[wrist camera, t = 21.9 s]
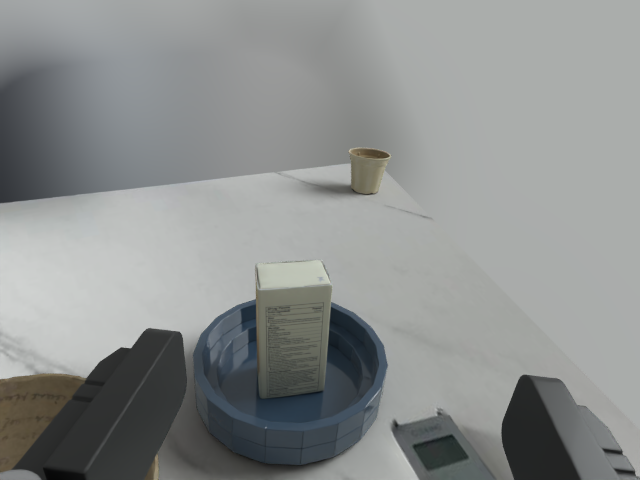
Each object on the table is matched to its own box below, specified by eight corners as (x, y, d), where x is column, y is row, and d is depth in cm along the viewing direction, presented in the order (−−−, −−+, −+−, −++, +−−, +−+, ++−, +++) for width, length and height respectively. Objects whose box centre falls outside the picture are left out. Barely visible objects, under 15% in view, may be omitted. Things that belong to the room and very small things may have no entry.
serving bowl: (393, 351, 46) (399, 319, 44) (355, 502, 30) (363, 463, 28) (249, 312, 50) (249, 281, 48) (154, 427, 35) (149, 388, 33)
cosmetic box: (315, 360, 43) (325, 258, 37) (325, 393, 39) (337, 283, 33) (253, 366, 41) (254, 260, 36) (256, 400, 37) (257, 287, 32)
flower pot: (380, 184, 99) (386, 148, 95) (389, 198, 90) (395, 160, 87) (342, 182, 98) (346, 146, 94) (347, 196, 90) (351, 157, 86)
